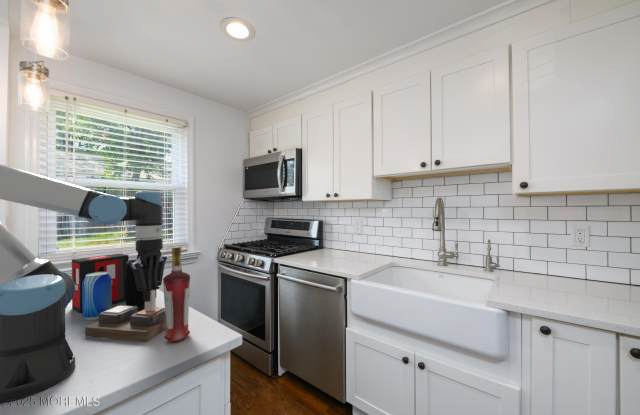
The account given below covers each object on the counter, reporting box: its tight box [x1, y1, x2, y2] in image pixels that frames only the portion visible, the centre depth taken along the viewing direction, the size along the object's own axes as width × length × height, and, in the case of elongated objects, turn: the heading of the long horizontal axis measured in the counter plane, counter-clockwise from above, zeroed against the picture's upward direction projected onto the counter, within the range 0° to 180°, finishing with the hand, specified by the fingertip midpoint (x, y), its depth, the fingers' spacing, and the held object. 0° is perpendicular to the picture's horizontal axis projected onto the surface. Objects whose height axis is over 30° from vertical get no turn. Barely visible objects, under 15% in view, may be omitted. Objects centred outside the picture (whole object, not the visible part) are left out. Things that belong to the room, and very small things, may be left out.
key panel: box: [84, 304, 166, 343], centre depth 89 cm, size 14×22×6 cm, turn 80°
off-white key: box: [104, 305, 133, 314], centre depth 90 cm, size 5×5×2 cm
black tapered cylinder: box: [124, 258, 145, 311], centre depth 107 cm, size 9×9×20 cm
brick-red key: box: [136, 307, 164, 316], centre depth 88 cm, size 5×5×2 cm
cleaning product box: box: [71, 253, 130, 314], centre depth 113 cm, size 16×9×20 cm, turn 148°
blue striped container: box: [82, 272, 113, 321], centre depth 100 cm, size 8×8×16 cm
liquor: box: [162, 246, 191, 343], centre depth 82 cm, size 7×7×28 cm
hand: (150, 310), depth 88 cm, fingers closed
